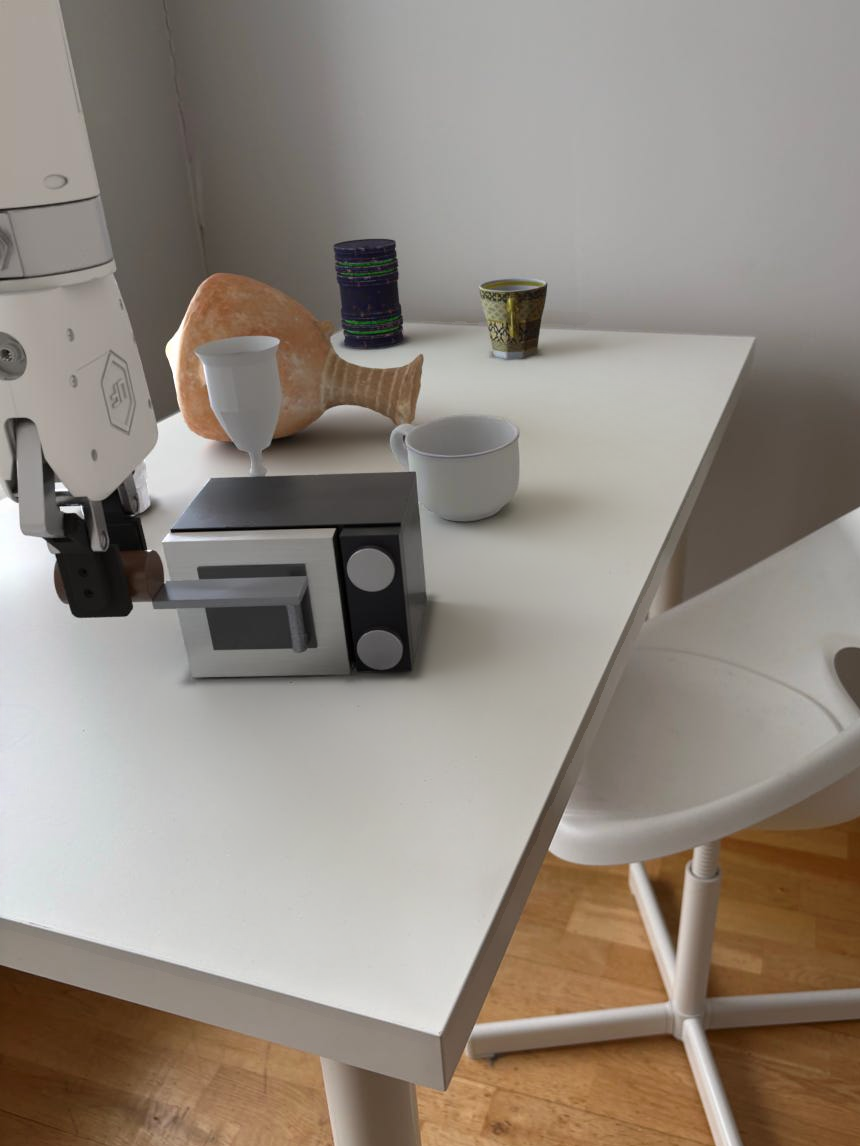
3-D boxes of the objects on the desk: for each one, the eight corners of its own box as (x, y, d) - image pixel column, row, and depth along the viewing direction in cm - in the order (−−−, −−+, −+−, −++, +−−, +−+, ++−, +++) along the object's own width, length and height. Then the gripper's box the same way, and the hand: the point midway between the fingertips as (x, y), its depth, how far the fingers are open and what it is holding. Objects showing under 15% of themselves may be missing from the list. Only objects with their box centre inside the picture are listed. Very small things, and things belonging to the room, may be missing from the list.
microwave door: (346, 687, 71) (327, 547, 66) (184, 690, 72) (153, 552, 66) (353, 663, 74) (336, 527, 69) (198, 666, 75) (169, 532, 69)
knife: (61, 613, 55) (48, 566, 53) (81, 590, 57) (68, 544, 56) (299, 606, 54) (292, 558, 53) (308, 582, 56) (302, 536, 55)
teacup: (544, 506, 99) (543, 426, 95) (464, 542, 92) (458, 457, 88) (448, 475, 107) (442, 401, 104) (368, 506, 101) (359, 428, 97)
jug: (197, 315, 129) (432, 334, 129) (180, 459, 127) (418, 478, 126) (147, 233, 109) (424, 255, 109) (125, 402, 107) (408, 424, 107)
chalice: (249, 562, 91) (213, 360, 82) (218, 539, 95) (181, 346, 87) (321, 539, 94) (294, 344, 85) (288, 519, 99) (259, 332, 90)
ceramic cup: (483, 347, 157) (480, 279, 152) (548, 344, 156) (546, 276, 151) (480, 368, 145) (476, 296, 140) (549, 365, 145) (548, 293, 140)
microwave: (410, 679, 72) (396, 536, 66) (189, 683, 73) (158, 543, 67) (426, 599, 82) (416, 471, 77) (234, 604, 84) (210, 477, 78)
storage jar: (342, 337, 167) (330, 241, 160) (401, 332, 168) (392, 236, 161) (346, 351, 159) (334, 250, 151) (408, 345, 160) (399, 245, 153)
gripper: (31, 273, 39) (133, 675, 48) (159, 218, 54) (219, 537, 63) (-155, 281, 40) (-19, 679, 49) (20, 225, 54) (101, 541, 63)
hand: (114, 596), depth 56 cm, fingers closed on knife, 2 cm apart
